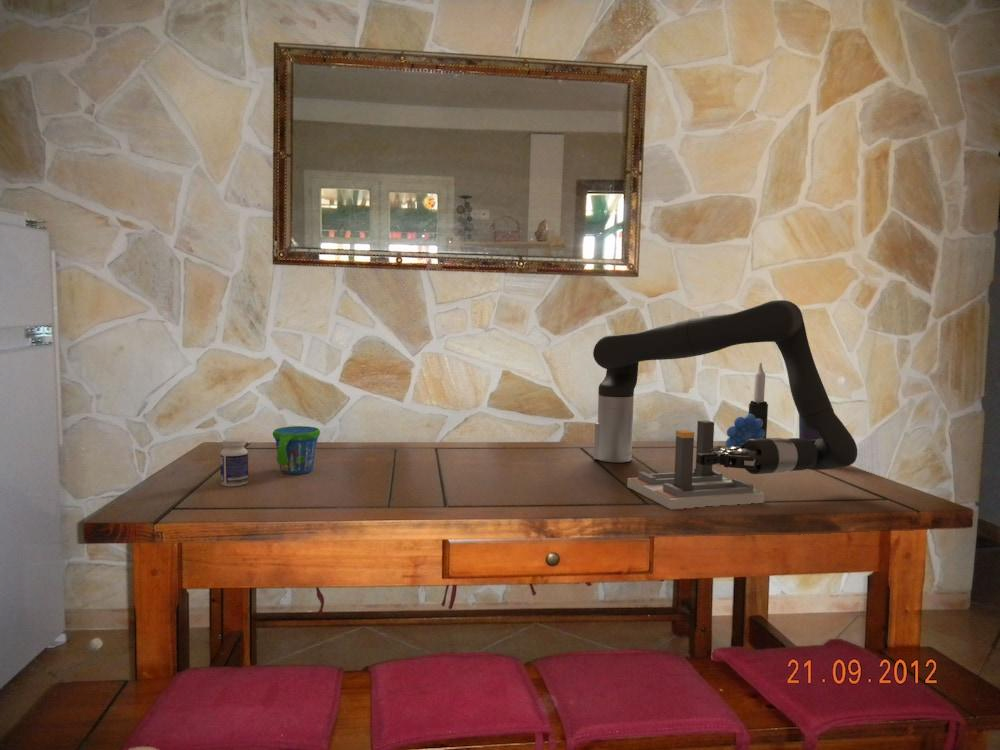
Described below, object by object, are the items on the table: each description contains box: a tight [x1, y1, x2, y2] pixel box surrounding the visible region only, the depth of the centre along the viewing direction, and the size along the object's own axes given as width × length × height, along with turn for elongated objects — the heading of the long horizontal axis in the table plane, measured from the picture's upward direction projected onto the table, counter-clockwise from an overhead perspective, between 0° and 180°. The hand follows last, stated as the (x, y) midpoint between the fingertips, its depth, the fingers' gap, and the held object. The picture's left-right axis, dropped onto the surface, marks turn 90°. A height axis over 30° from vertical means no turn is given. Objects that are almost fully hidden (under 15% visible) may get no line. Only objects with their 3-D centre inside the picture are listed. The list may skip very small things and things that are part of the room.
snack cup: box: [272, 425, 321, 475], centre depth 172 cm, size 16×10×10 cm
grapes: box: [724, 413, 765, 449], centre depth 200 cm, size 12×7×12 cm, turn 102°
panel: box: [627, 420, 765, 510], centre depth 157 cm, size 22×19×15 cm
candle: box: [748, 362, 769, 438], centre depth 215 cm, size 5×5×25 cm
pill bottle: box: [219, 437, 249, 487], centre depth 159 cm, size 6×6×10 cm
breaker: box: [673, 429, 695, 491], centre depth 149 cm, size 3×3×13 cm
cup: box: [798, 415, 822, 440], centre depth 194 cm, size 7×7×15 cm
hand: (698, 459), depth 150 cm, fingers closed
